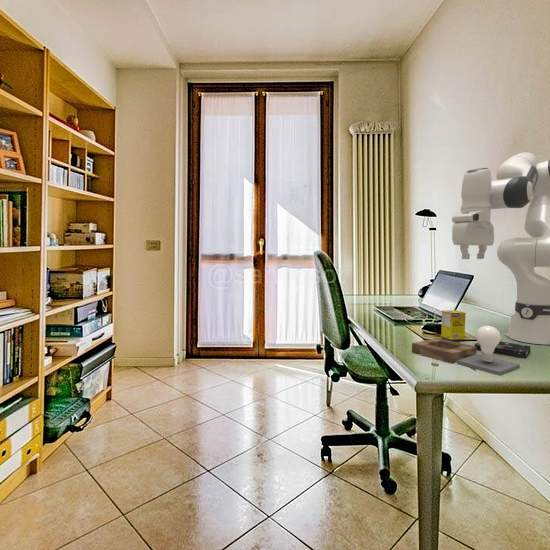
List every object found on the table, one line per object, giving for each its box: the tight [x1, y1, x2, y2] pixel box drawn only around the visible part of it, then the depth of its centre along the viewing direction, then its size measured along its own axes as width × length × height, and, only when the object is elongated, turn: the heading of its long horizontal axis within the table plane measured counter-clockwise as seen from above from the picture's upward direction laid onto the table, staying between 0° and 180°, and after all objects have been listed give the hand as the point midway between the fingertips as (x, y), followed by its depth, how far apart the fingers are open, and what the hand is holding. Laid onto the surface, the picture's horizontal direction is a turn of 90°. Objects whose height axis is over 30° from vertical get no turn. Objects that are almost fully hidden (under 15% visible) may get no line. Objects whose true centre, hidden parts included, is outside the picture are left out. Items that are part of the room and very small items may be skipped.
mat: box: [456, 353, 521, 376], centre depth 107 cm, size 12×12×1 cm
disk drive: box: [473, 341, 531, 360], centre depth 123 cm, size 10×3×15 cm
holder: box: [411, 337, 477, 364], centre depth 119 cm, size 14×14×3 cm
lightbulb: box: [475, 325, 502, 363], centre depth 106 cm, size 6×6×11 cm
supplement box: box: [440, 309, 467, 342], centre depth 138 cm, size 6×6×11 cm
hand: (473, 259), depth 121 cm, fingers open, 8 cm apart
